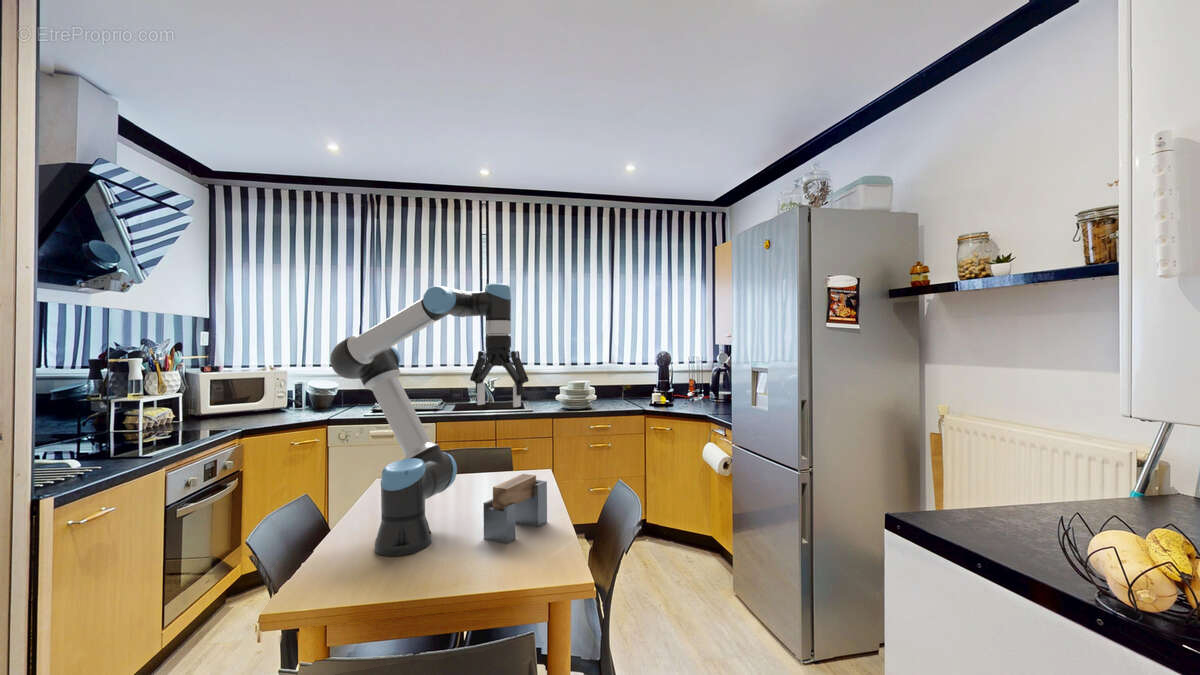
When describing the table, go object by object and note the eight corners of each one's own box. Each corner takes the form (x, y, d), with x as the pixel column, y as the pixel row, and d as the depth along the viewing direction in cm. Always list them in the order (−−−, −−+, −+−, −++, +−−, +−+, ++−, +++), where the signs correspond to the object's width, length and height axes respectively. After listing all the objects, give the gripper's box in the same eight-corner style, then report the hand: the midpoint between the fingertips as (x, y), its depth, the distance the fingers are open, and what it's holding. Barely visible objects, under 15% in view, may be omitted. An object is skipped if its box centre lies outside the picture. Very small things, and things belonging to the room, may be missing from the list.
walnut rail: (492, 507, 143) (492, 487, 143) (522, 492, 158) (522, 473, 158) (507, 509, 141) (507, 489, 141) (536, 494, 156) (536, 475, 156)
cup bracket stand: (481, 538, 143) (481, 493, 143) (521, 517, 160) (521, 477, 160) (508, 544, 138) (508, 498, 139) (547, 522, 156) (546, 481, 156)
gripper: (539, 334, 144) (540, 406, 144) (475, 336, 156) (475, 402, 155) (524, 334, 138) (525, 409, 137) (458, 335, 149) (458, 404, 149)
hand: (498, 405), depth 146 cm, fingers open, 13 cm apart
